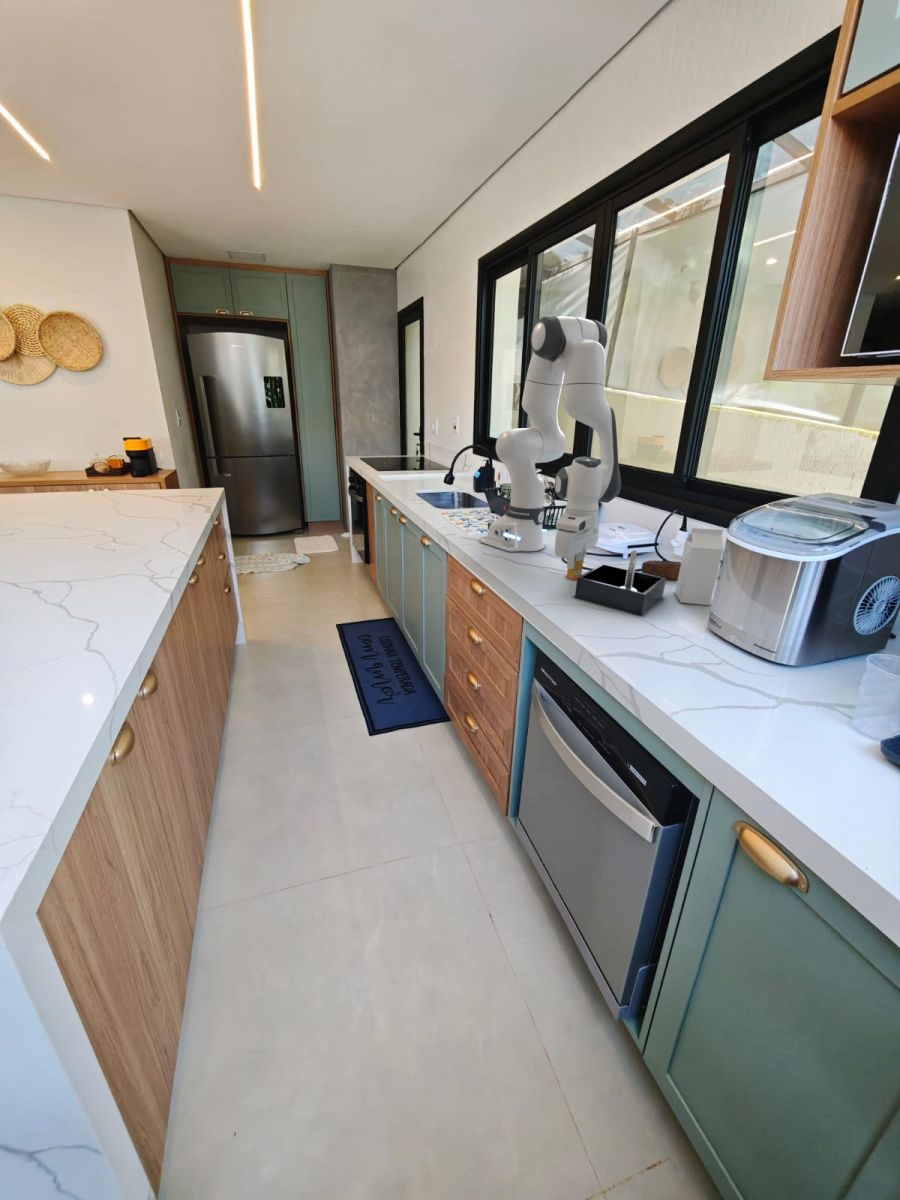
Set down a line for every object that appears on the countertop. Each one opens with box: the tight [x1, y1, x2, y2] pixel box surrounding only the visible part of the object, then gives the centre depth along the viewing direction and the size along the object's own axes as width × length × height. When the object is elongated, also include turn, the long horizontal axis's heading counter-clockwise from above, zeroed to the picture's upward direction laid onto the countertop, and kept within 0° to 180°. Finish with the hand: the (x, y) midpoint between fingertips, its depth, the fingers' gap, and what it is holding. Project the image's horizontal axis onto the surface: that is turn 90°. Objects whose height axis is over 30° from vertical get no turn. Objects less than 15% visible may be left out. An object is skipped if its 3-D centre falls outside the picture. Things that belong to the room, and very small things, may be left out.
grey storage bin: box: [574, 563, 667, 617], centre depth 131 cm, size 18×16×6 cm
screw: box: [621, 549, 638, 592], centre depth 128 cm, size 13×5×5 cm
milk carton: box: [674, 527, 724, 606], centre depth 129 cm, size 7×7×19 cm
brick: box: [641, 560, 681, 581], centre depth 147 cm, size 11×4×5 cm, turn 80°
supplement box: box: [566, 546, 585, 581], centre depth 144 cm, size 3×3×10 cm
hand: (575, 566), depth 145 cm, fingers closed on supplement box, 4 cm apart
